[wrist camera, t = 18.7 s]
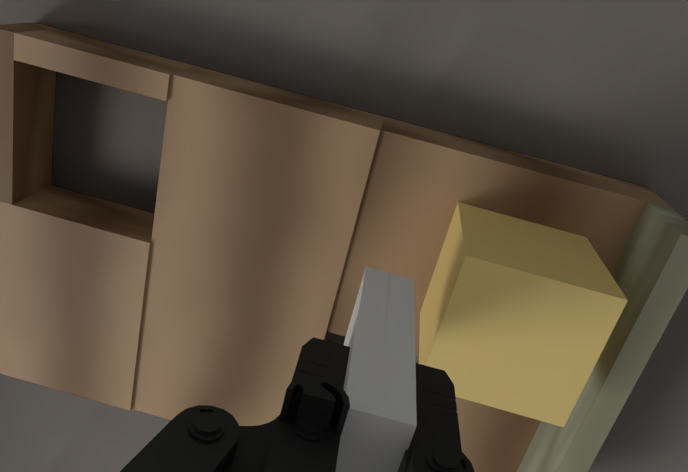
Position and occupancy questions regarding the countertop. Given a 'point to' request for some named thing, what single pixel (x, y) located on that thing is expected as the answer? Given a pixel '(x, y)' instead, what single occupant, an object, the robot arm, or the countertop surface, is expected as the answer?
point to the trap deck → (282, 246)
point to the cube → (517, 313)
